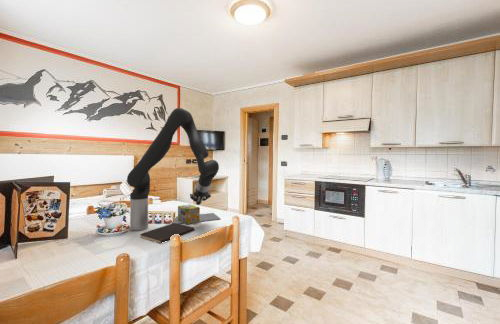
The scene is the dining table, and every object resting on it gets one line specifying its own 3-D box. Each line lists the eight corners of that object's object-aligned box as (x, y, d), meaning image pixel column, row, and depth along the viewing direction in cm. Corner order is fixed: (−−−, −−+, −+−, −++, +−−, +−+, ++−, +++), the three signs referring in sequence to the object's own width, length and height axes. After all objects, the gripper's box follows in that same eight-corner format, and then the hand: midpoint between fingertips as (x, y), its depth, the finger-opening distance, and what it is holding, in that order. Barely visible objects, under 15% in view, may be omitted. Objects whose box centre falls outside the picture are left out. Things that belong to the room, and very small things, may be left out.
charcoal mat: (172, 225, 146) (172, 224, 146) (169, 218, 160) (169, 217, 160) (220, 219, 158) (220, 218, 158) (213, 213, 173) (213, 212, 173)
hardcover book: (139, 238, 125) (139, 234, 125) (174, 226, 145) (174, 222, 144) (161, 245, 117) (161, 240, 117) (194, 231, 137) (194, 227, 136)
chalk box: (187, 209, 145) (174, 204, 156) (186, 224, 145) (174, 219, 156) (200, 207, 152) (187, 202, 162) (200, 221, 152) (187, 216, 162)
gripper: (213, 181, 144) (207, 197, 156) (190, 182, 139) (186, 199, 150) (215, 191, 140) (209, 207, 151) (192, 192, 134) (188, 209, 146)
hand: (198, 203), depth 151 cm, fingers closed
